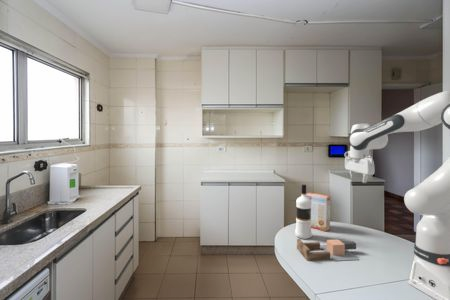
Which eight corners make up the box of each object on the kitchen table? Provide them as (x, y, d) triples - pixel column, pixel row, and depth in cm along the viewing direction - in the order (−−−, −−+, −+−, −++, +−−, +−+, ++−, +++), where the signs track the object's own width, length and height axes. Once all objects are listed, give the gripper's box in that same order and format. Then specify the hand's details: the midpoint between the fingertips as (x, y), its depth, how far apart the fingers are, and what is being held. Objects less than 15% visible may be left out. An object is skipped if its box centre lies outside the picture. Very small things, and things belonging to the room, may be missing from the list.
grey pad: (359, 259, 118) (359, 259, 118) (334, 261, 117) (334, 260, 117) (340, 244, 134) (340, 244, 134) (318, 245, 133) (318, 245, 133)
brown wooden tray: (330, 259, 119) (330, 248, 118) (306, 260, 118) (306, 250, 117) (318, 247, 131) (318, 238, 130) (297, 248, 129) (297, 239, 129)
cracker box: (330, 229, 156) (331, 195, 154) (326, 231, 151) (326, 197, 150) (309, 223, 166) (309, 192, 164) (304, 225, 161) (305, 193, 160)
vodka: (293, 232, 150) (294, 182, 149) (310, 233, 149) (310, 183, 147) (296, 239, 141) (296, 186, 139) (313, 240, 140) (314, 186, 138)
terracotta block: (358, 253, 123) (358, 243, 123) (332, 255, 122) (333, 245, 122) (350, 248, 129) (351, 238, 129) (326, 249, 128) (326, 239, 127)
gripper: (378, 156, 121) (377, 184, 122) (353, 152, 142) (352, 177, 143) (366, 156, 121) (365, 184, 122) (342, 153, 141) (342, 177, 142)
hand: (358, 180), depth 132 cm, fingers open, 8 cm apart
